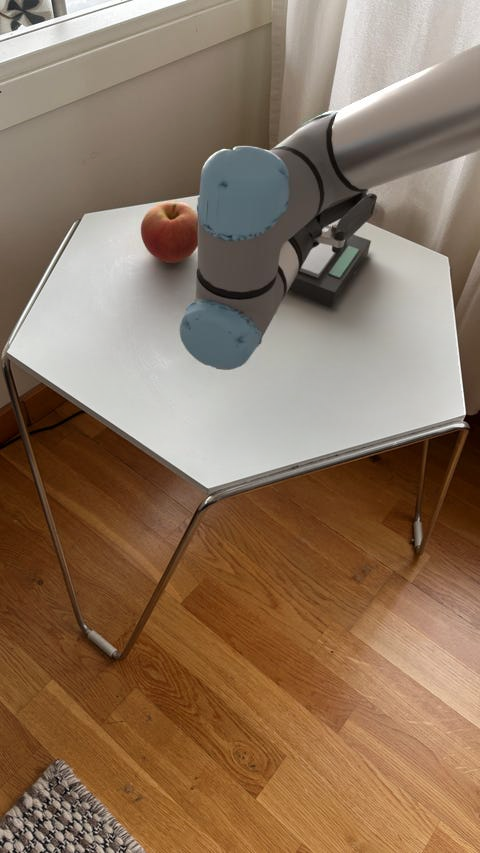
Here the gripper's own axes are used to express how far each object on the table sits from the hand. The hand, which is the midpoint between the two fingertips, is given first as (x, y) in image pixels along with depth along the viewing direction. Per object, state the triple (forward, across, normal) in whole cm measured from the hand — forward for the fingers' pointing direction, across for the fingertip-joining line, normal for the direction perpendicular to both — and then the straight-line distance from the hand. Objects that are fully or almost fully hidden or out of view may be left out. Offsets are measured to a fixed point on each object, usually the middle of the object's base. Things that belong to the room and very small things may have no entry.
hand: (328, 158), depth 90 cm
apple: (-11, -17, -13) cm, 24 cm away
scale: (-5, 0, -13) cm, 14 cm away
